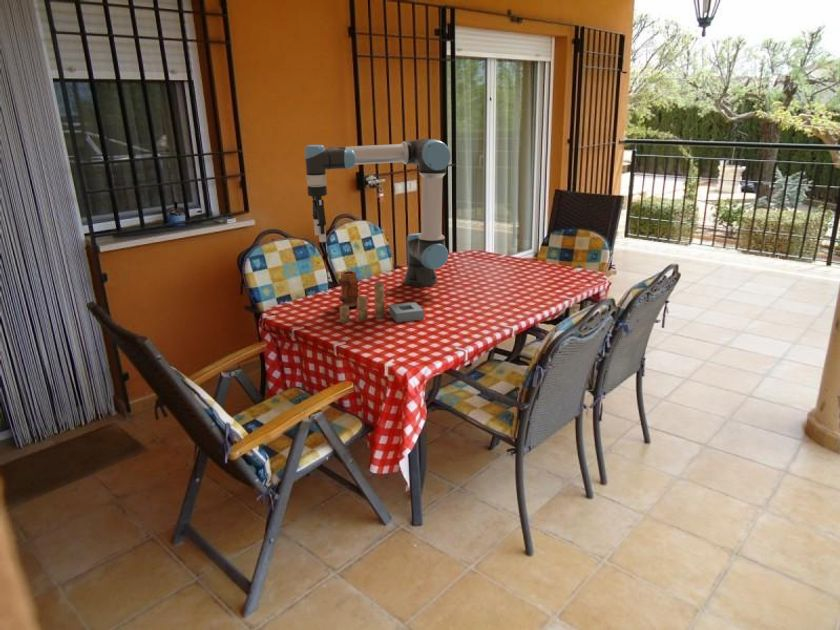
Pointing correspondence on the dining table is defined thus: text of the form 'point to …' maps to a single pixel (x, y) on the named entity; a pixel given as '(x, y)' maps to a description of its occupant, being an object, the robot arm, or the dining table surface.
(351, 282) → the mug
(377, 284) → the dowel long
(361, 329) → the dining table surface
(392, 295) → the dining table surface
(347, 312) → the dowel short
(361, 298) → the dowel medium
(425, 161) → the robot arm
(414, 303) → the hole block
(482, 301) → the dining table surface
